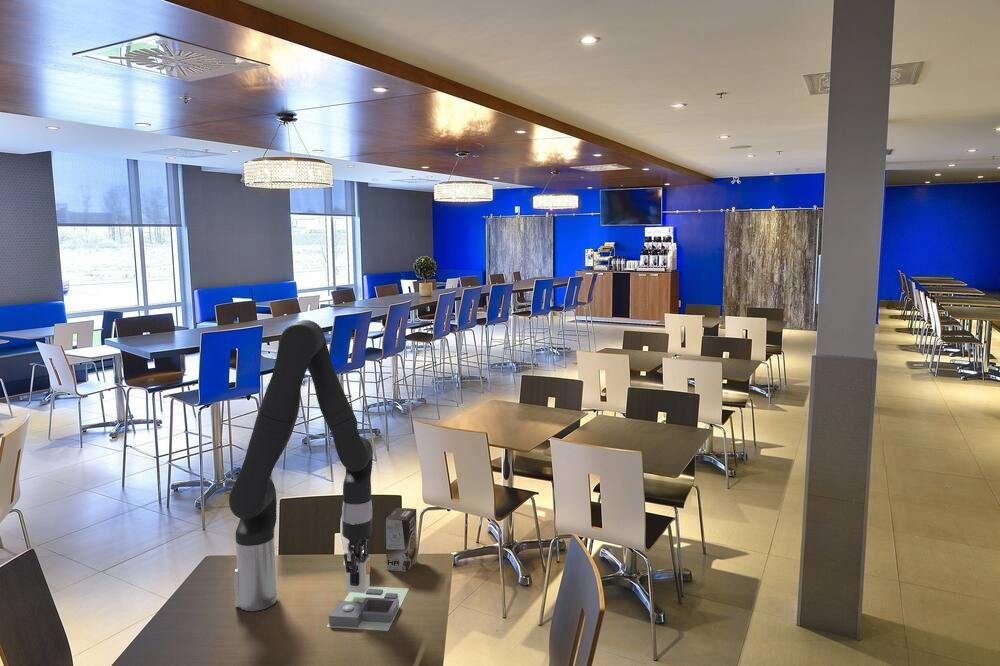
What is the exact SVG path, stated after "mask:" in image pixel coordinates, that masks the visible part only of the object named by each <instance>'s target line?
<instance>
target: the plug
mask: <svg viewBox="0 0 1000 666" xmlns="http://www.w3.org/2000/svg"><path fill="white" fill-rule="evenodd" d="M356 559H359V558H358V557H356ZM356 565H357V563H356ZM359 569H360V570H359V585H358V586H351V585H350V573H346V572H345V592H347V593H349V592H356V593H365V592H366V590H367V589H368V587H369V586H370V580H371V579H370V572H371V560H370V555H369V554H368V555H366V556H364V555H362V562H360V568H359Z"/></svg>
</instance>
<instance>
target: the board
mask: <svg viewBox="0 0 1000 666" xmlns="http://www.w3.org/2000/svg"><path fill="white" fill-rule="evenodd" d="M409 590H410V588H407V587H406V588H405V587H404V588H403V587H386V586H369V587H368V589H367V590H366V592H365V593H356V592H348V594H347V595H346V596H345V598H344V600H343V601H352V602H357V601H359V602H367V611H362V613H361V623H360V625H359V626H358V628H357V627H341V626H329V623H327V625H326V628H334V629H335V628H336V629H337V628H338V629H351V630H352V629H354V630H355V629H356V630H369V631H370V630H371V631H385V632H388V631H389V630H390V628H391V626H392V624H393V622H394V619H395V618H396V616H397V614H398V613H399V610H400V608H401V605H402V603H403V601H404V600H405V598H406V596H407V594H408V591H409Z"/></svg>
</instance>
